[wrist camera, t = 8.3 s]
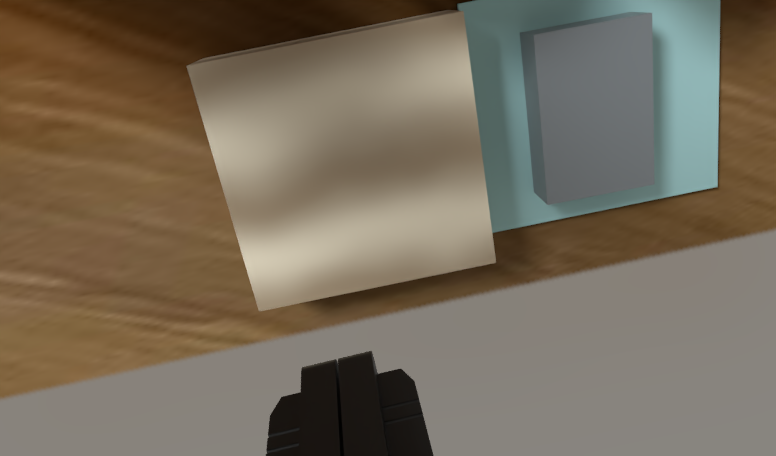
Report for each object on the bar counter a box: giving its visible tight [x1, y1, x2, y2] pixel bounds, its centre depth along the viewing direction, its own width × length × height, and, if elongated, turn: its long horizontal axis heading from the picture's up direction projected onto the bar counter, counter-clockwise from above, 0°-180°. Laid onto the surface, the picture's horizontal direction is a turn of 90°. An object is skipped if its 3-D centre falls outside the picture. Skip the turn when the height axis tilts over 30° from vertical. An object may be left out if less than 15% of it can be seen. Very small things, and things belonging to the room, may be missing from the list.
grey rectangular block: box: [520, 12, 655, 205], centre depth 33 cm, size 9×6×2 cm, turn 10°
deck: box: [187, 10, 496, 311], centre depth 32 cm, size 13×13×4 cm
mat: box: [457, 0, 720, 233], centre depth 34 cm, size 13×14×1 cm
